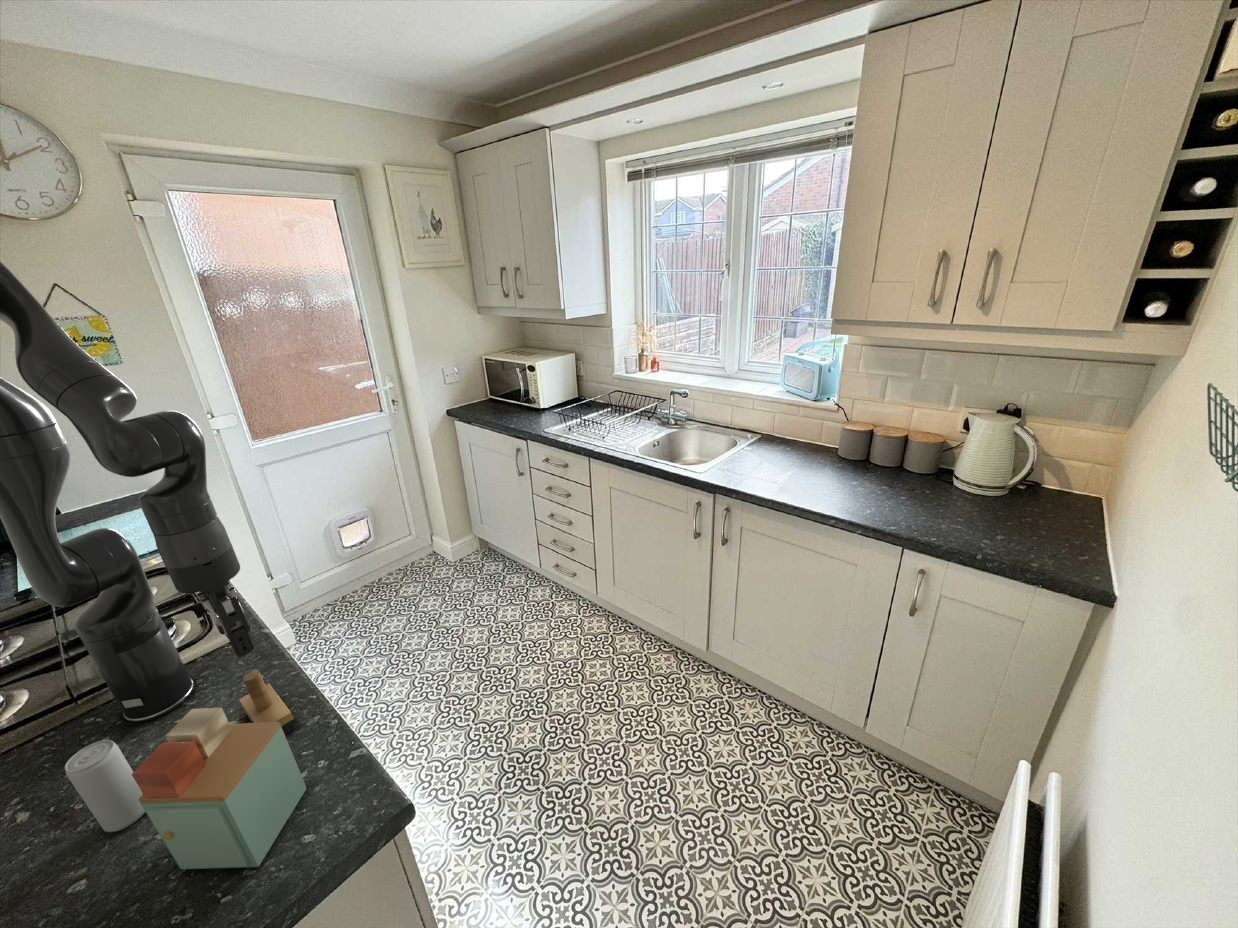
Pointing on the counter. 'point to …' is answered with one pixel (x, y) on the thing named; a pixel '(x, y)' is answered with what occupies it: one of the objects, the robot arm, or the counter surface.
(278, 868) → the counter surface
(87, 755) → the beverage can
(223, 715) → the cream block
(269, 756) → the cupboard
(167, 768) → the terracotta block
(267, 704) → the brush
